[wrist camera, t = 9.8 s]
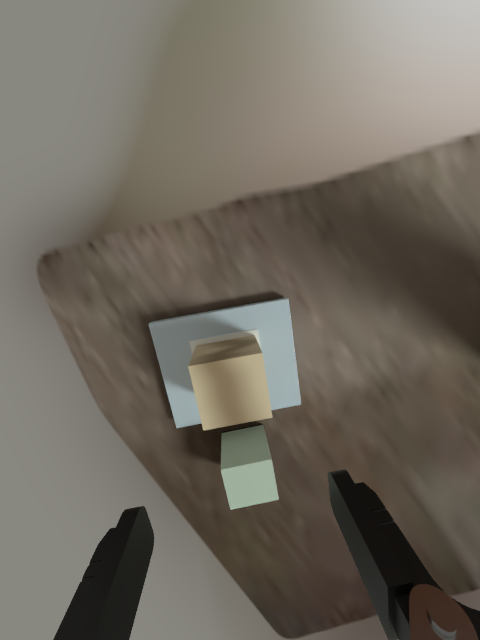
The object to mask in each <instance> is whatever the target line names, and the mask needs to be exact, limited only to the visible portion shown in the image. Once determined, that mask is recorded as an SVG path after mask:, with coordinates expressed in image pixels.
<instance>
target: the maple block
mask: <svg viewBox="0 0 480 640" xmlns="http://www.w3.org/2000/svg"><path fill="white" fill-rule="evenodd" d="M188 368H189V372H190V376H191V381H192V385H193V389H194V393H195V397H196V402H197V406H198V410H199V414H200V418H201V423H202V427H203V431H204V430H210V429H215V428H220V427H225V426H231V425H236V424H241V423H246V422H252V421H257V420H262V419H267V418H272V412H271V405H270V399H269V392H268V386H267V379H266V373H265V366H264V360H263V353H262V351H261V349H260V346H259V344H258V342H257V340H256V337H255V335H252V336H247V337H241V338H236V339H230V340H225V341H219V342H213V343H208V344H202V345H197V346H196V347H195V350H194V352H193V355H192V358H191V360H190V363H189V365H188Z"/></svg>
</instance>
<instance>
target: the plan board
mask: <svg viewBox="0 0 480 640" xmlns="http://www.w3.org/2000/svg"><path fill="white" fill-rule="evenodd" d="M149 328H150V332H151V336H152V339H153V343H154V347H155V350H156V354H157V358H158V361H159V365H160V369H161V372H162V376H163V380H164V384H165V387H166V391H167V395H168V398H169V402H170V406H171V409H172V413H173V417H174V421H175V424H176V428H181V427H186V426H191V425H196V424H202V423H201V418H200V414H199V410H198V406H197V402H196V397H195V393H194V389H193V385H192V381H191V376H190V372H189V368H188V365H189V363H190V360H191V358H192V355H193V352H194V350H195V347H196V346H197V345H202V344H208V343H213V342H219V341H225V340H230V339H236V338H241V337H247V336H252V335H255V337H256V340H257V342H258V344H259V346H260V349H261V351H262V353H263V360H264V366H265V373H266V379H267V386H268V392H269V399H270V405H271V410H275V409H280V408H285V407H291V406H296V405H301V398H300V390H299V382H298V373H297V365H296V357H295V348H294V340H293V332H292V323H291V315H290V307H289V299H288V298H280V299H275V300H269V301H263V302H258V303H252V304H247V305H241V306H235V307H230V308H224V309H218V310H213V311H207V312H202V313H196V314H190V315H185V316H179V317H174V318H168V319H162V320H157V321H151V322H150V323H149Z"/></svg>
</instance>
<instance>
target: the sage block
mask: <svg viewBox="0 0 480 640" xmlns="http://www.w3.org/2000/svg"><path fill="white" fill-rule="evenodd" d="M221 473H222V477H223V481H224V485H225V489H226V493H227V497H228V501H229V505H230V510H232V509H236V508H241V507H246V506H251V505H255V504H260V503H265V502H269V501H274V500H279V497H278V492H277V486H276V481H275V475H274V470H273V464H272V459H271V455H270V451H269V447H268V443H267V438H266V434H265V430H264V426H263V425H259V426H254V427H249V428H244V429H239V430H235V431H230V432H225V433H222V435H221Z"/></svg>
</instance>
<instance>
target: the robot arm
mask: <svg viewBox="0 0 480 640" xmlns="http://www.w3.org/2000/svg"><path fill="white" fill-rule="evenodd" d="M328 481H329V491H330V501H331V505H332V509H333V512H334V515H335V517H336V520H337V522H338V524H339V527H340V529H341V531H342V534H343V536H344V538H345V541H346V543H347V545H348V547H349V550H350V552H351V554H352V557H353V559H354V561H355V564H356V566H357V568H358V571H359V573H360V575H361V577H362V580H363V582H364V584H365V587H366V589H367V591H368V594H369V596H370V598H371V601H372V603H373V605H374V607H375V610H376V612H377V614H378V617H379V619H380V621H381V624H382V626H383V628H384V631H385V633H386V635H387V637H388V640H396V639H399V640H480V611H478V610H475V609H471V608H469V607H467V606H465V605H462V604H461V603H459V602H457V601H456V600H455V599H453V598H452V597H450V596H449V595H448V594H447V593H446V592H444V591H443V590H442V589H441V588H440V587H439V586H438V584H437V583H436V582H435V581H434V580H433V578H432V577H431V576H430V574H429V573H428V571H427V570H426V568H425V567H424V565H423V564H422V562H421V561H420V559H419V558H418V556H417V555H416V553H415V552H414V550H413V549H412V547H411V546H410V544H409V542H408V541H407V539H406V538H405V536H404V535H403V533H402V532H401V530H400V529H399V527H398V526H397V524H395V522H394V520H393V518H392V517H391V515H390V514H389V512H388V511H387V510H386V508H385V506H384V505H383V503H382V502H381V500H380V499H379V497H378V496H377V494H376V493H375V492H374V491H373V490H372V489H370V488H369V487H368V486H367V485H366V484H365V483H364V482H362V483H357V484H355V483H354V482H353V480H352V478H351V477H350V475H349V473H348V472H347V471H346V470H340V471H334V472H329V473H328ZM153 546H154V533H153V529H152V526H151V523H150V520H149V517H148V514H147V512H146V509H145V507H143V506H141V507H136V508H131V509H126V510H124V512H123V513H122V515H121V517H120V519H119V522H118V524H117V526H116V528H111V529H110V530H109V531H108V532H107V533H106V535H105V536H104V537H103V539H102V540H101V541H100V543H99V544H98V546H97V548H96V550H95V552H94V554H93V556H92V559H91V561H90V565H89V566H88V567H87V569H86V571H85V573H84V576H83V579H82V582H80V584H79V586H78V589H77V590H76V593H75V595H74V597H73V599H72V601H71V603H70V605H69V608H68V610H67V612H66V614H65V616H64V618H63V620H62V623H61V625H60V627H59V629H58V631H57V633H56V635H55V637H54V640H129V638H130V634H131V630H132V627H133V623H134V619H135V615H136V611H137V608H138V604H139V600H140V597H141V593H142V589H143V585H144V582H145V578H146V574H147V570H148V566H149V563H150V559H151V555H152V551H153Z"/></svg>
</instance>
